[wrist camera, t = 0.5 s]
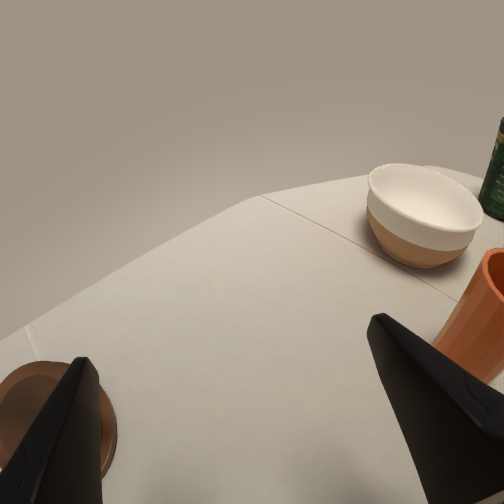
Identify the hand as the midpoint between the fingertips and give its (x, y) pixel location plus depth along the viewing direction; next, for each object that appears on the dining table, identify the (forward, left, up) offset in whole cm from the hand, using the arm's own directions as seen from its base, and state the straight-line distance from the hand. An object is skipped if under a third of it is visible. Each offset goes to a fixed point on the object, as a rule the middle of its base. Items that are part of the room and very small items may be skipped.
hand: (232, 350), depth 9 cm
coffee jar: (+23, -54, -17) cm, 61 cm away
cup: (+1, -20, -17) cm, 26 cm away
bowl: (+19, -28, -17) cm, 38 cm away
